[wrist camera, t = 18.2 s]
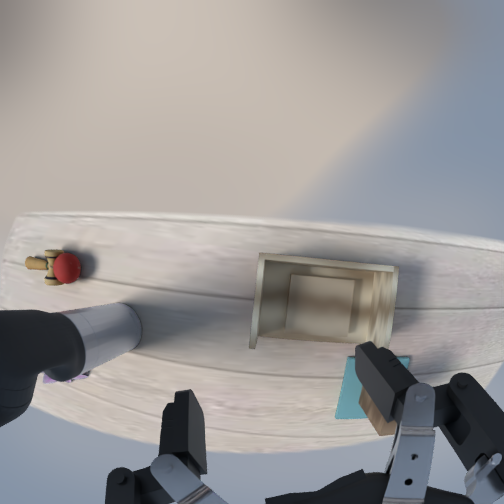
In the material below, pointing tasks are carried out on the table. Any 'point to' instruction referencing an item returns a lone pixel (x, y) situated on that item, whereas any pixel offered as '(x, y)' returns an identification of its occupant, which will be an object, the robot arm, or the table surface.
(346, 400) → the mat
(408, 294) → the table surface
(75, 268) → the kendama
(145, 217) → the table surface
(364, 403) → the walnut block
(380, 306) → the crate
